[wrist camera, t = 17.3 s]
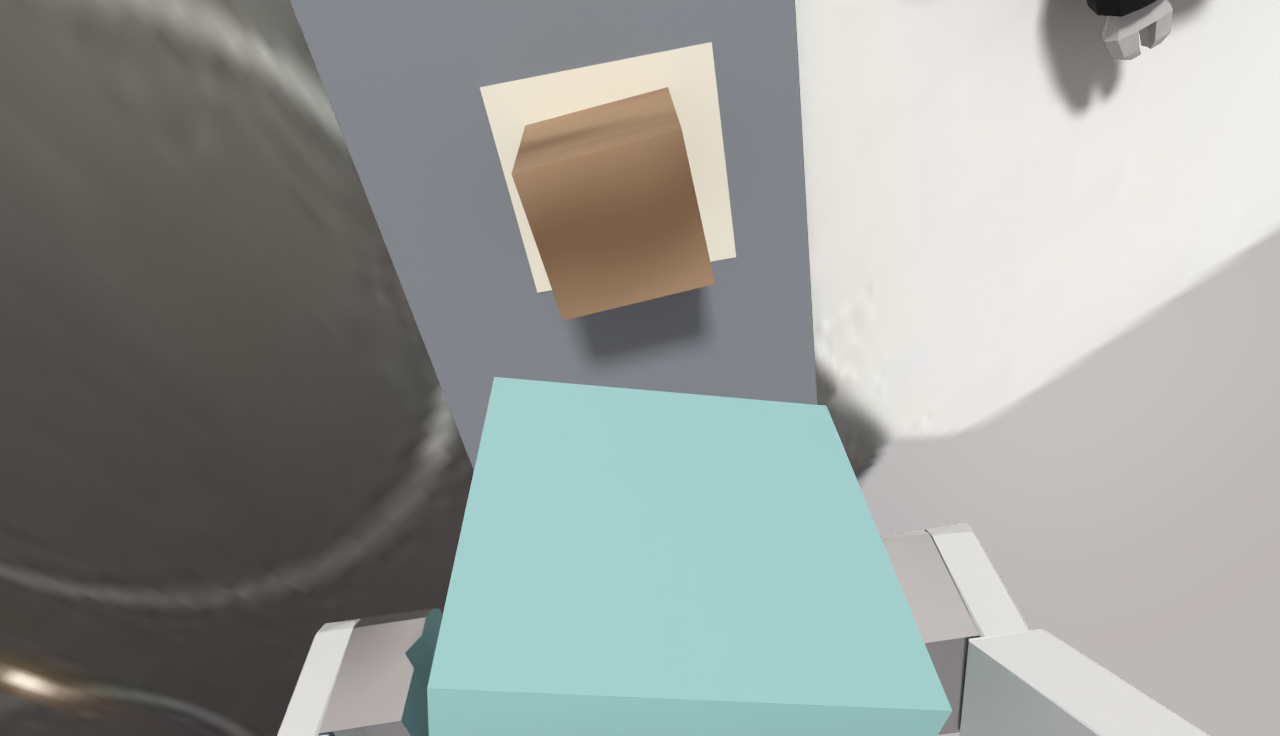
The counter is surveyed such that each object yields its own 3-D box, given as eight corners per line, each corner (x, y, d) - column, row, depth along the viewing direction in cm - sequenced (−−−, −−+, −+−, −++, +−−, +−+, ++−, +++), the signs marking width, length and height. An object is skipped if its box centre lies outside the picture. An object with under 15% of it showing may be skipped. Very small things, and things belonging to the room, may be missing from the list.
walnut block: (697, 222, 25) (715, 283, 21) (568, 255, 26) (563, 320, 22) (667, 86, 23) (682, 129, 19) (525, 125, 23) (511, 173, 19)
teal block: (755, 618, 13) (818, 930, 9) (486, 604, 12) (435, 926, 9) (826, 405, 10) (953, 711, 7) (494, 377, 10) (426, 689, 6)
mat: (816, 428, 31) (819, 435, 30) (483, 484, 32) (481, 491, 31) (782, -159, 20) (786, -160, 20) (275, -53, 21) (269, -52, 20)
